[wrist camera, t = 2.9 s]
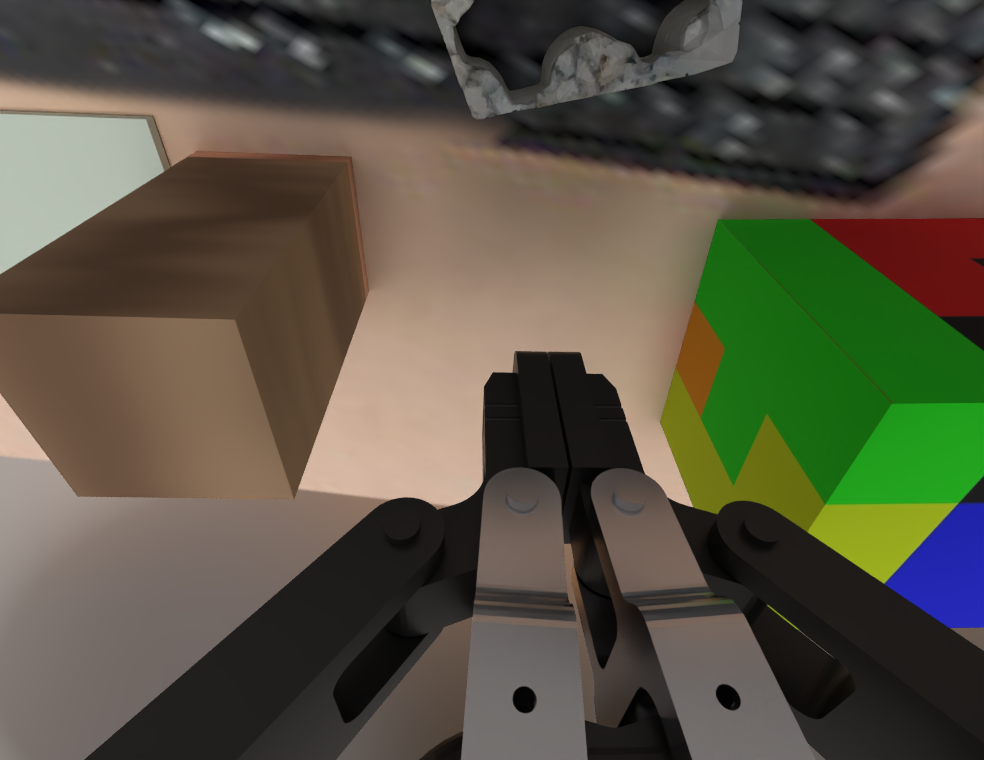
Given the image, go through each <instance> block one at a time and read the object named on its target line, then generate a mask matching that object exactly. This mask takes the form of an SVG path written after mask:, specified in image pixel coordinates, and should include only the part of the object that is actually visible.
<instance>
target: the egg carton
mask: <svg viewBox="0 0 984 760" xmlns="http://www.w3.org/2000/svg"><path fill="white" fill-rule="evenodd" d="M473 2H474V0H430V3H431V6H432V9H433V12H434V15H435V17H436V20H437V23H438V25H439V28H440V31H441V33H442V36H443V39H444V41H445V44H446V47H447V49H448V52H449V55H450V57H451V60H452V63H453V66H454V70H455V73H456V76H457V79H458V82H459V84H460V86H461V88H462V90H463V92H464V95H465V98H466V101H467V103H468V106H469V108H470V111H471V114H472V116H473V117H474V119H476V120H478V119H485V118H489V117H494V116H496V115H500V114H505V113H509V112H514V111H519V110H525V109H530V108H539V107H543V106H549V105H553V104H557V103H562V102H567V101H572V100H577V99H583V98H587V97H592V96H597V95H603V94H607V93H611V92H617V91H622V90H627V89H632V88H637V87H644V86H646V85H647V86H648V85H652V84H654V83H657V82H660V81H665V80H669V79H674V78H680V77H685V76H689V75H693V74H698V73H701V72H704V71H707V70H710V69H713V68H716V67H719V66H722V65H725V64H728V63H731V62H732V61H733V59H734V57H735V55H736V53H737V49H738V39H739V29H740V19H741V9H742V0H684V1H683V2H681V3H680V4H679V5H677V6H676V7H674V9H673V10H672V11H671V12H670V13H669V14H668V15H667V16H666V17H665V18H664V20H663V22H662V24H661V26H660V28H659V30H658V32H657V36H656V38H655V41H654V46H653V50H652V54H650V55H648V56H646V57H645V58H644V57H641V58H639V56H638V54H637V52H636V51H635V49H634V48H633V47H632V46H631V45H630V44H627V43H624V42H621V41H618V40H616V39H615V38H613V37H612V36H610V35H608V34H606V33H604V32H602V31H600V30H598V29H596V28H591V27H584V26H577V27H573V28H570V29H568V30H566V31H565V32H563V33H562V34H560V35H559V36H558V37H557V38H556V39H555V40H554V41H553V42H552V44H551V45H550V46H549V48H548V50H547V52H546V54H545V56H544V59H543V63H542V69H541V80H540V82H539V83H538V84H536V85H533V86H528V87H525V88H522V89H517V90H511V91H510V90H509V89H508V88H507V86H506V84H505V82H504V80H503V78H502V76H501V75H500V73H499V72H498V70H497V69H496V68H495V67H494V66H493V65H492V64H491V63H490V62H488V61H486V60H484V59H482V58H479V57H471V56H468V55H467V54H465V51H464V49H463V46H462V44H461V41H460V39H459V35H458V32H457V29H456V24H457V23H458V21H459V19H460V17H461V16H462V15H463V14H464V13H465V12H466V11H467V10H468V9H469V8H470V7H471V5H472V3H473Z"/></svg>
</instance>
